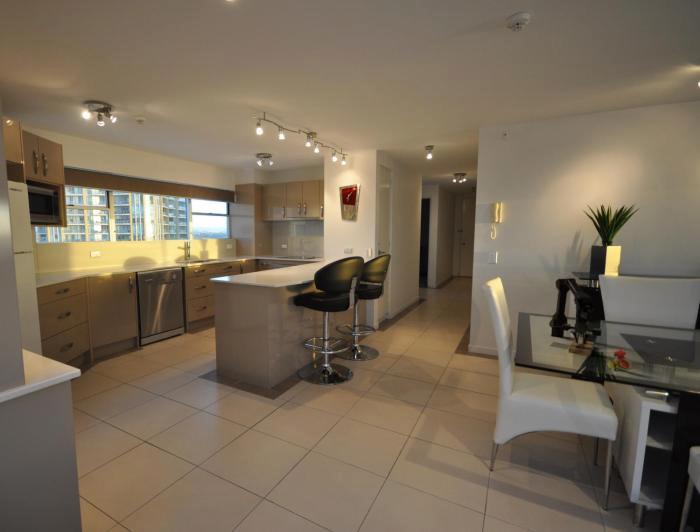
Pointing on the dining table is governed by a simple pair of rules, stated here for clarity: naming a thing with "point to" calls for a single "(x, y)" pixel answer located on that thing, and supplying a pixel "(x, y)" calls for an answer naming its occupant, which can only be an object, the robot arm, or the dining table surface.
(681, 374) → the dining table surface
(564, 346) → the mat
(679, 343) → the dining table surface
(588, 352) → the hole block
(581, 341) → the peg
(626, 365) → the bird rattle
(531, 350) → the dining table surface
